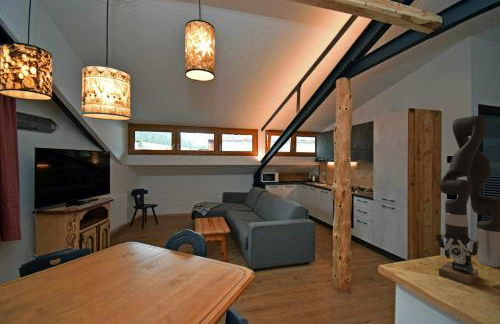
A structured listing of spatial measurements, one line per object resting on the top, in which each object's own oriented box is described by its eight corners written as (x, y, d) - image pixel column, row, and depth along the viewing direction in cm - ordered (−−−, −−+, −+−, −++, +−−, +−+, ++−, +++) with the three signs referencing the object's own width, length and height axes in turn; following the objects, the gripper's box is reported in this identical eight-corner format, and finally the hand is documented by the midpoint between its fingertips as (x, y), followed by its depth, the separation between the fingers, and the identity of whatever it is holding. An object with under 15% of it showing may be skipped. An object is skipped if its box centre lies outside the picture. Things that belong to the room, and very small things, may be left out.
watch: (451, 271, 95) (445, 245, 96) (458, 265, 99) (453, 241, 100) (468, 275, 90) (462, 248, 91) (475, 269, 94) (469, 243, 95)
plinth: (448, 267, 104) (448, 261, 104) (478, 276, 95) (477, 270, 95) (438, 275, 98) (438, 268, 98) (469, 285, 89) (469, 278, 89)
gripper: (481, 225, 92) (483, 264, 92) (439, 218, 105) (440, 253, 104) (476, 228, 88) (477, 269, 88) (433, 221, 101) (434, 256, 101)
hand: (457, 260), depth 96 cm, fingers open, 6 cm apart
